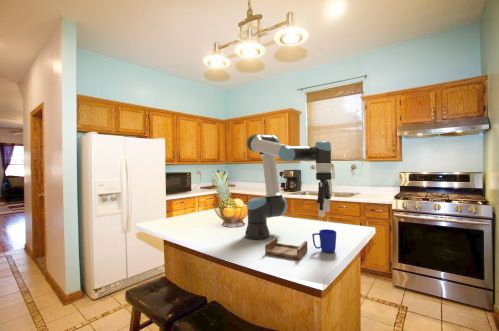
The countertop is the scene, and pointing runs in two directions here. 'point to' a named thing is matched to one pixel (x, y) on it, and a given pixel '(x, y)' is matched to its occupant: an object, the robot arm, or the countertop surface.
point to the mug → (326, 240)
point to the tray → (285, 249)
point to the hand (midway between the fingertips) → (324, 213)
